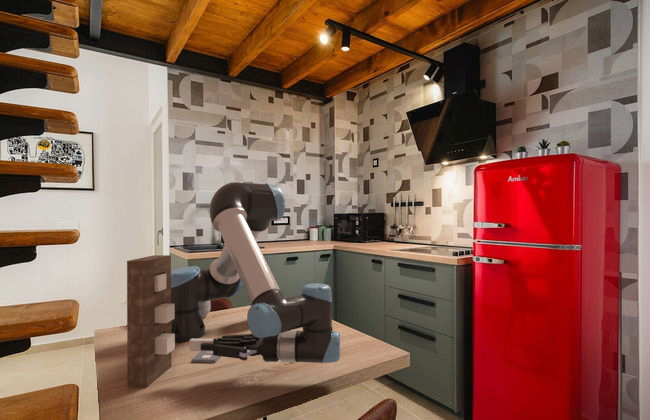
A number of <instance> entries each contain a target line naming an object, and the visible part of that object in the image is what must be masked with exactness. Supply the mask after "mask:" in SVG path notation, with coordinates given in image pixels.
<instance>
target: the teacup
mask: <svg viewBox="0 0 650 420" xmlns="http://www.w3.org/2000/svg"><path fill="white" fill-rule="evenodd" d="M211 306H212V305H211V300H210V301H205V302H200V313H201V316H202V319H203V318H206V317H207V316H208V314H210V312H211V309H212V308H211Z"/></svg>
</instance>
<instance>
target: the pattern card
mask: <svg viewBox="0 0 650 420" xmlns="http://www.w3.org/2000/svg"><path fill="white" fill-rule="evenodd" d="M221 357H222V356H214V355H213V351H198V353H197V354H196V355H195V356H194V357H193V358H192V359H191V362H192V363H217V362H218V361H219V360H220V358H221Z"/></svg>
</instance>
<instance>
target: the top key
mask: <svg viewBox="0 0 650 420" xmlns="http://www.w3.org/2000/svg"><path fill="white" fill-rule="evenodd" d="M164 289H166V274H155V275H154V292H159V291H162V290H164Z"/></svg>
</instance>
